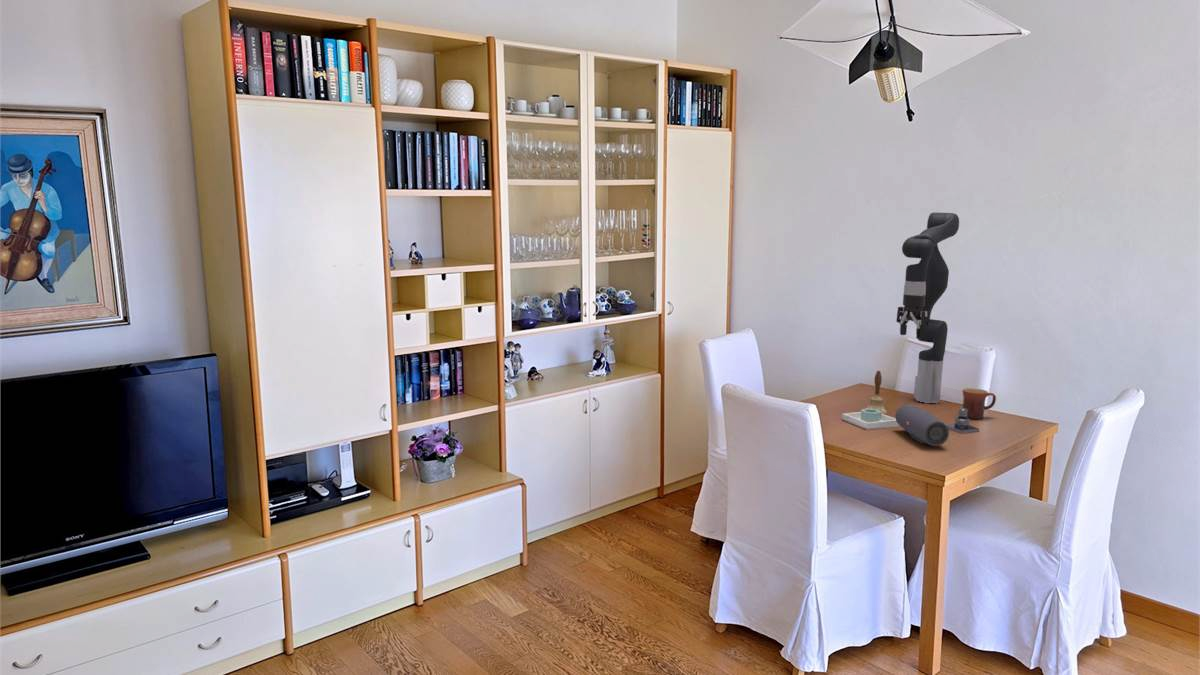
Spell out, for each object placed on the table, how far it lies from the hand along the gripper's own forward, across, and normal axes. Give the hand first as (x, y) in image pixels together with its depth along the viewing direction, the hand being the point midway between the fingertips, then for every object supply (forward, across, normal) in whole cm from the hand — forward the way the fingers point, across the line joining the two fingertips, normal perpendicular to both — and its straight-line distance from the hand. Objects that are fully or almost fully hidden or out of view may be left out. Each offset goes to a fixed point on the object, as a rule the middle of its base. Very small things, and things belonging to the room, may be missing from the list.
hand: (911, 336), depth 308 cm
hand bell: (+30, -8, -7) cm, 32 cm away
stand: (+30, +22, +6) cm, 38 cm away
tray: (+30, +5, -20) cm, 36 cm away
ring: (+29, +5, -20) cm, 36 cm away
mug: (+30, +11, +24) cm, 40 cm away
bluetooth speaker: (+30, +27, -17) cm, 44 cm away
